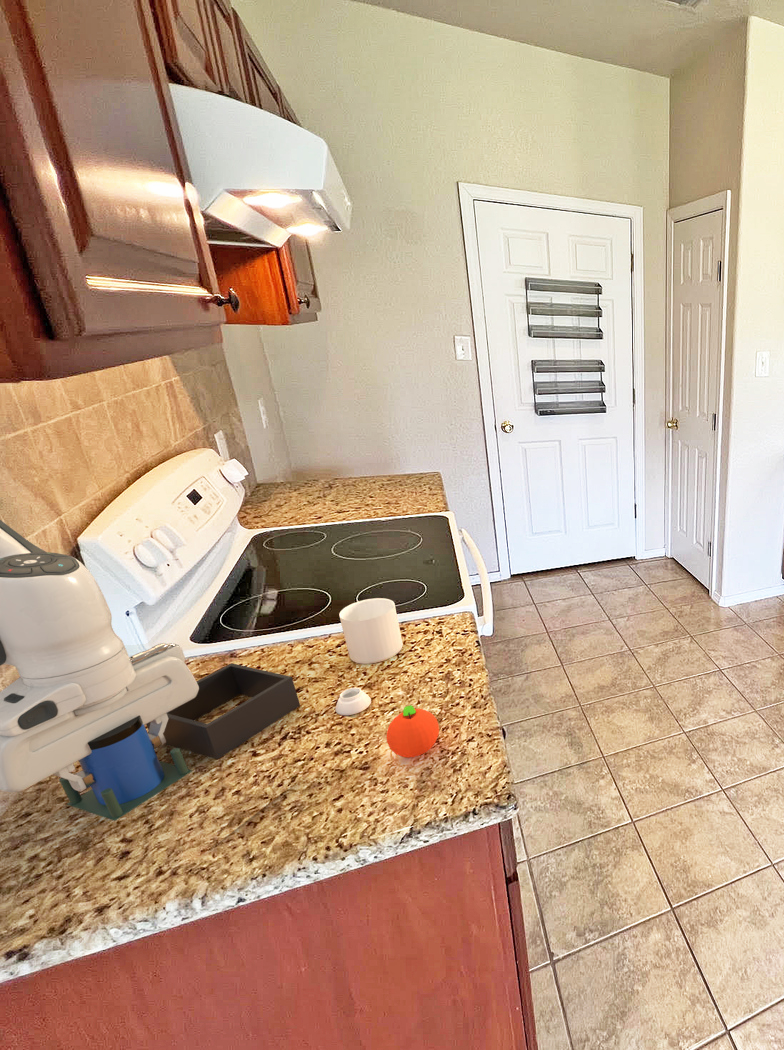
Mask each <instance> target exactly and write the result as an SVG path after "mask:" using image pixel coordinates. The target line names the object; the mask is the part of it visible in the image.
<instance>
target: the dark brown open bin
mask: <svg viewBox="0 0 784 1050" xmlns="http://www.w3.org/2000/svg"><path fill="white" fill-rule="evenodd" d="M196 682H197V684H198V686H199V690H198V693H197V695H196V697H195V698H193V699H192V700H190V701H188V702H186V703H184V704H182V705H181V706H179V707H177V708H175V709H173V710H171V711H169V712H168V713H167V716H168V718H169V719H168V722H167V725H166V728H165V731H164V733H163V735H164V737H165V740H166V743H164V744H163V746H164V745H165V746H168V747H172V748H180V750H181V751H185V752H189V753H192V754H197V755H200V756H204V757H207V758H210V759H215V760H220V759H221V758H222V757H224V756H226V755H227V754H229V753H230V752H232V751H233V750H234V749H236V748H238V747H239V746H241V745H242V744H244V743H246V742H247V741H248V740H250V739H251V738H253V737H255V736H256V735H257V734H259V733H261V732H262V731H264V730H265V729H267V728H268V727H270V726H271V725H273V724H274V723H276V722H278V721H279V720H280V719H282V718H284V717H285V716H287V715H288V714H290V713H292V712H293V711H295V710H297V709H298V708H300V706H301V704H300V701H299V696H298V694H297V690H296V689H297V688H296V687H295V683H294V680H293V677H292V676H290V675H285V674H282V673H276V672H273V671H268V670H263V669H258V668H255V667H249V666H245V665H241V664H237V663H233V662H232V663H229V664H226V665H225V666H223V667H221V668H219V669H218V670H215V671H214V672H212V673H209V674H208V675H206V676H204V677H202V678H199V679H197V680H196ZM239 695H241V696H245V697H249V699H247V700H245V701H244V702H242V703H240V704H239V705H237V706H235V707H234V708H232V709H230V710H229V711H227V712H225V713H224V714H222V715H220V716H218V717H216V718H214V719H213V720H211V721H210V722H208V723H205V722H201V721H197V720H198V719H199V718H202V717H203V716H205V715H206V714H208V713H210V712H212V711H213V710H215V709H217V708H219V707H220V706H222V705H224V704H226V703H228V702H229V701H231V700H232V699H235V698H236V697H238V696H239ZM150 723H151V722H149V723H147V724H145V725H146V728H147V730H148V731H149V727H150Z"/></svg>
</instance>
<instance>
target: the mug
mask: <svg viewBox="0 0 784 1050" xmlns="http://www.w3.org/2000/svg"><path fill="white" fill-rule="evenodd" d="M338 614H339V620H340V623H341V628H342V632H343V636H344V640H345V645H346V649H347V653H348V657H349V659H350V660H351V661H352V662H354V663H356V664H361V665H370V664H376V663H380V662H383V661H386V660H389V659H391V658H393V657H394V656H396V655H398V653H400V652H401V650H402V648H403V646H404V644H403V638H402V633H401V628H400V624H399V618H398V613H397V609H396V604H395V602H394V600H392V599H389V598H385V597H383V598H381V597H375V598H367V599H363V600H358V601H356V602H353V603H351V604H349V605H347V606H345V607H343V608H342V609H341V610H340V612H339V613H338Z"/></svg>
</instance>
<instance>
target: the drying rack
mask: <svg viewBox="0 0 784 1050" xmlns="http://www.w3.org/2000/svg"><path fill="white" fill-rule="evenodd" d="M169 753H170V756H171V758H172V761H173V763H174V764H172V763H169V762H166V761H162V760H159V762H160V764H161V767H162V769H163V771H164V778H163V780H162V781H161V783H160V784H159V785H158V786H156V787H155V788H154V789H153V790H151V791H150V792H148V793H146V794H145V795H143V796H141V797H139V798H137V799H134V800H132V801H129V802H126V803H122V804H119V803H118V801H117V799H116V796H115V794H114V792H113V790H112V789H111V788H108V789H105V790H103V791H102V792H101V795H102V797H103V799H104V802H105V804H106V805H102V804H100V803H99V802H98V800H97V798H96V796H95V794H94V792H93V790H92V788H91V789H90V790H88V791H86V792H85V793H83V794H80V791H77V790H74V789H73V788H72V786H71V784H70V782H69V781H68V779H65V778H61V777H59V779H58V781H59V783H60V786H61V787H62V789H63V791H64V793H65V795H66V797H67V799H68V800H69V802H68V803H66V806H69V807H73V808H76V809H79V810H81V811H85V812H87V813H90V814H93V815H97V816H99V817H102V818H105V819H108V820H111V821H114V822H115V821H118V820H119V819H120V818H122V817H123V816H125V815H126V814H128V813H130V812H131V811H133V810H134V809H136V808H138V807H139V806H141V805H142V804H143V803H145V802H147V801H149V800H150V799H152V798H154V796H156V795H158V794H159V793H160V792H162V791H165V789H167V788H169V787H170V786H171V785H174V784H175V783H176V782H178V781H179V780H181V779H182V778H184V777H185V776H187V775H189V774H190V773H192V772H193V771H194V770H192V769H190V768H188V766H187V763H186V761H185V758H184V755H183V754H182V750H181V749H180V748H175V747H173V748H172V749H171V750H170V751H169Z"/></svg>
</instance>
